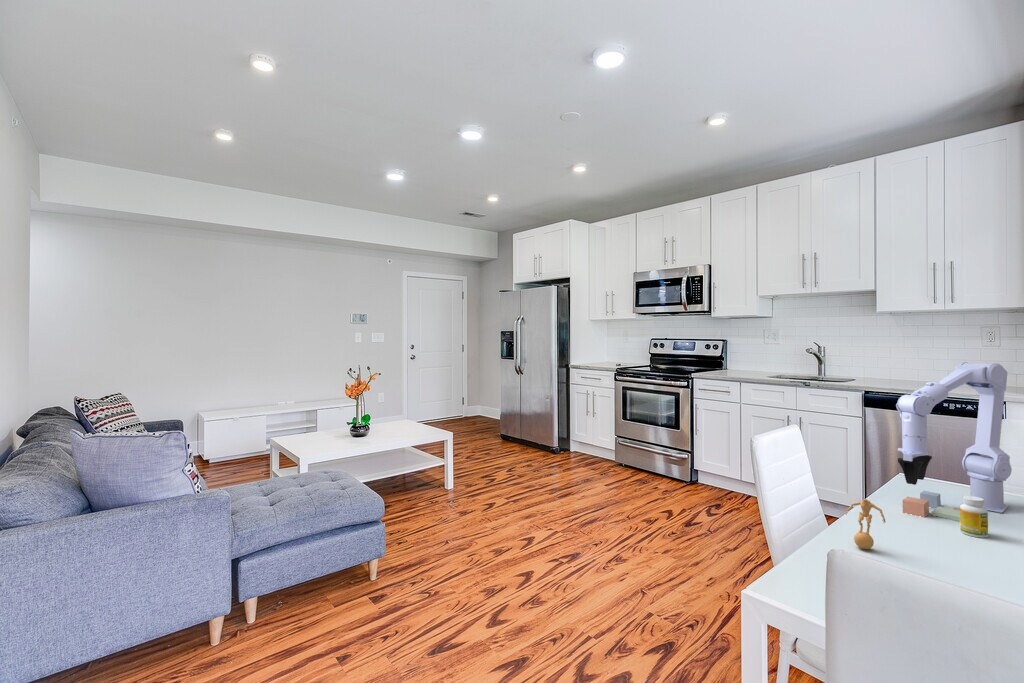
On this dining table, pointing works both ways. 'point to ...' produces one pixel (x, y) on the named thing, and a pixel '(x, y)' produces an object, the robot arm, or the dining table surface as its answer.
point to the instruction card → (952, 507)
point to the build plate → (946, 513)
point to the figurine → (861, 537)
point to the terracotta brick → (915, 506)
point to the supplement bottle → (973, 517)
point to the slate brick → (931, 498)
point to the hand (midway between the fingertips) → (915, 481)
